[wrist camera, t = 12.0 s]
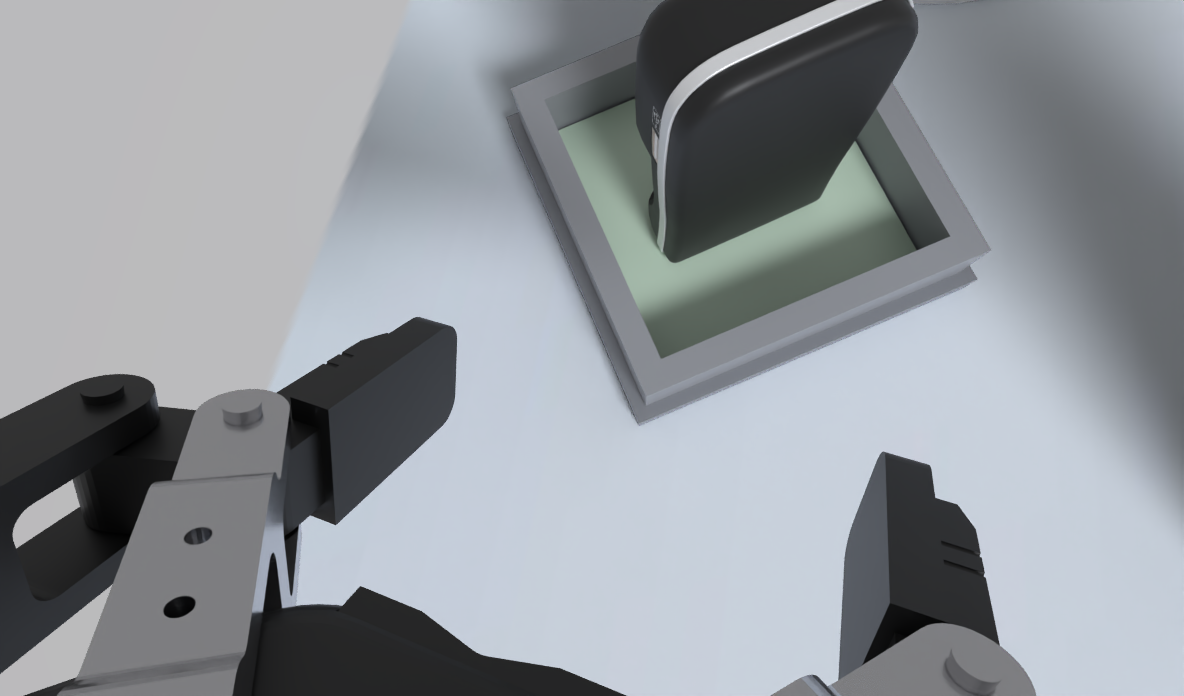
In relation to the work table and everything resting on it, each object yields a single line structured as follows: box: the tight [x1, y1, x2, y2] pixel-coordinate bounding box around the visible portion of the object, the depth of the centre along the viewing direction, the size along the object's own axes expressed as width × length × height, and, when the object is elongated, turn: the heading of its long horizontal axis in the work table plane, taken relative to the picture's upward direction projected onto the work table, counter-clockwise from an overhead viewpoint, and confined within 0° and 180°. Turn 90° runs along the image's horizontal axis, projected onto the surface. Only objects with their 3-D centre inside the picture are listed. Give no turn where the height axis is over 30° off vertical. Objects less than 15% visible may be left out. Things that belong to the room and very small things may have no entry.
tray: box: [507, 35, 991, 426], centre depth 27 cm, size 14×14×4 cm
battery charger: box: [635, 0, 918, 263], centre depth 22 cm, size 7×4×11 cm, turn 114°
